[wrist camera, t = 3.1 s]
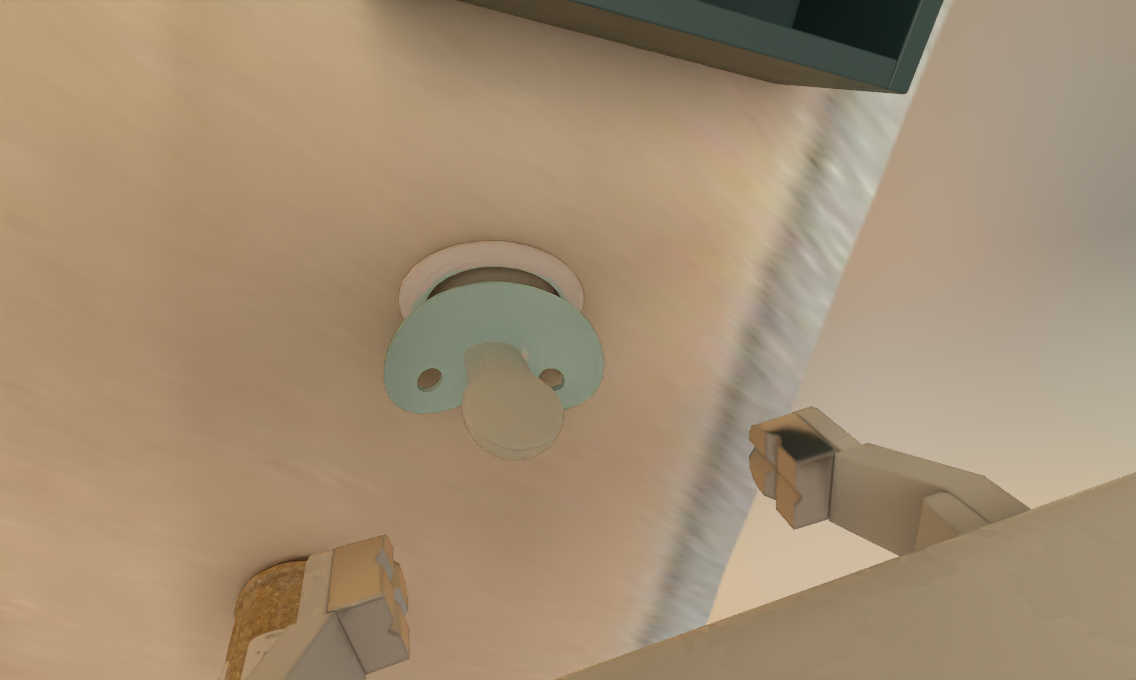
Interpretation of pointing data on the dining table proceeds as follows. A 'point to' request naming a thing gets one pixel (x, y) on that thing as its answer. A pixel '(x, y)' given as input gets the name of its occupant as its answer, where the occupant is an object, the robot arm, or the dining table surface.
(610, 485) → the dining table surface
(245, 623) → the sprinkles bottle
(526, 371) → the pacifier
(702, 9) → the crate
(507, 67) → the dining table surface
